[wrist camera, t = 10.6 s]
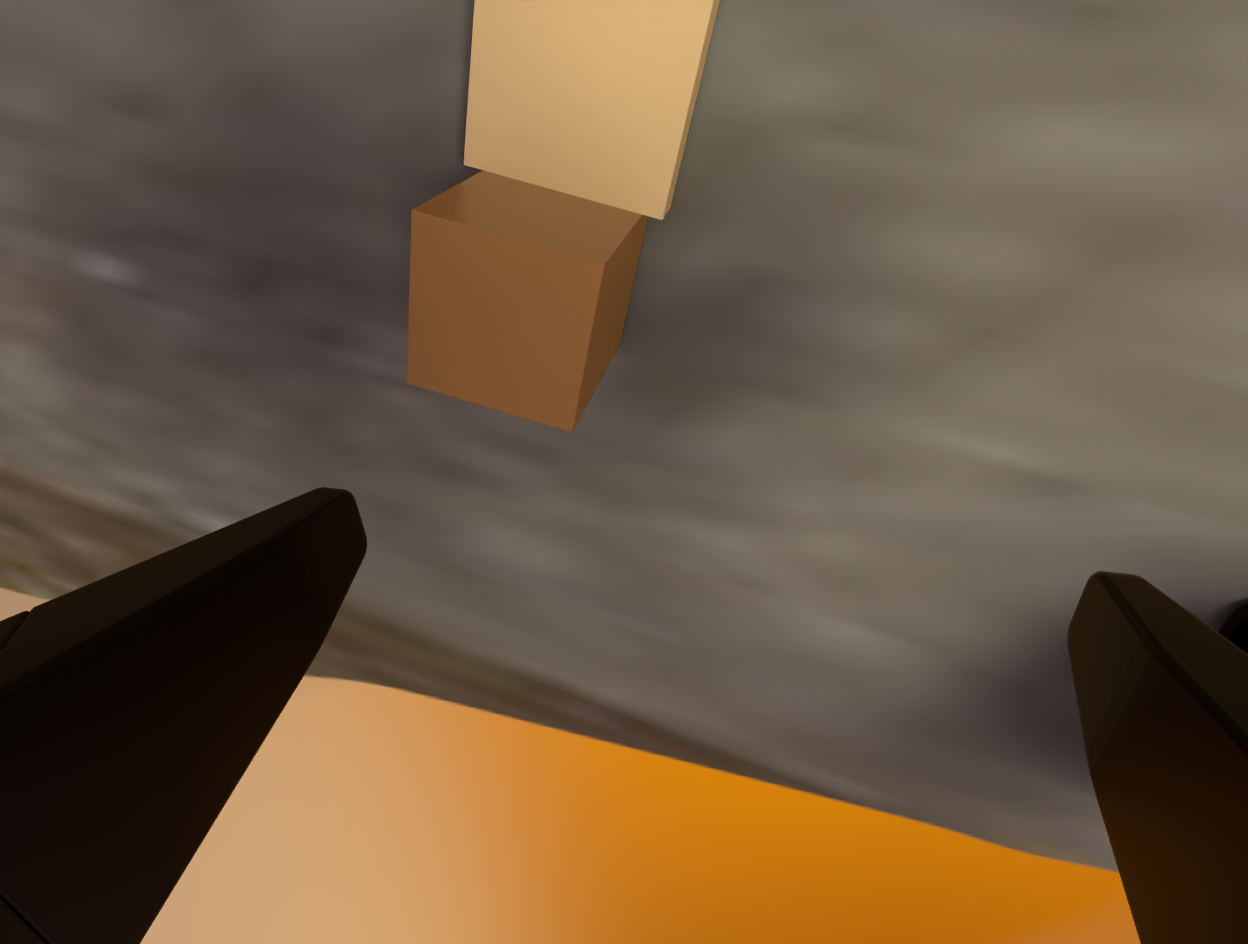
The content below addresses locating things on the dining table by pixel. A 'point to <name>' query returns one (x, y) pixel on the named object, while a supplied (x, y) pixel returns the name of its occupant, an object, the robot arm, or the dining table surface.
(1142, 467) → the dining table surface
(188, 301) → the dining table surface
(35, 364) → the dining table surface
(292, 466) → the dining table surface
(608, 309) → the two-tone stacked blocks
